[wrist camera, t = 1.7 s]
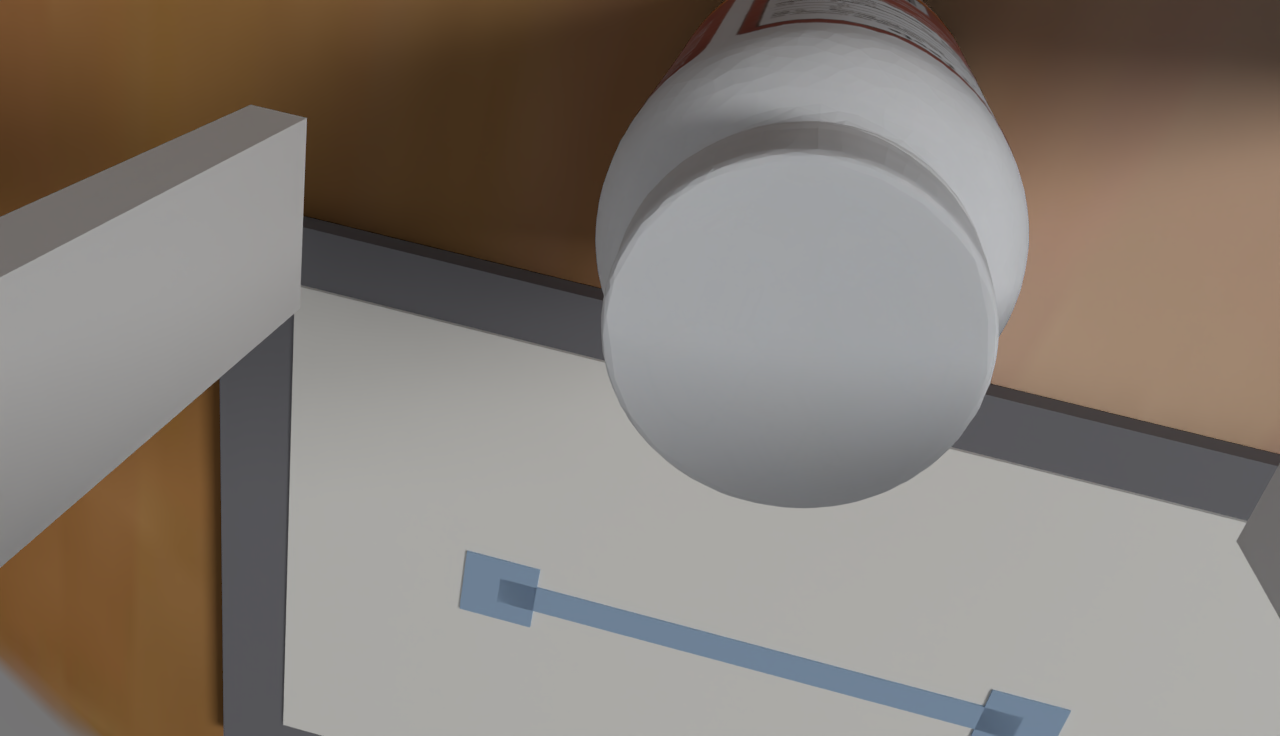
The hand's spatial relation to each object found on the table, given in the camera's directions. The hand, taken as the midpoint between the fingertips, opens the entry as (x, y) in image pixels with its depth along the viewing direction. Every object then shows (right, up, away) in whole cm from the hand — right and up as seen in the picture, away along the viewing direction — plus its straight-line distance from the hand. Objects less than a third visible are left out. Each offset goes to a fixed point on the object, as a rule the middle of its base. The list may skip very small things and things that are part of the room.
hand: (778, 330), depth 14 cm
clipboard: (+1, -8, +15) cm, 17 cm away
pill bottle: (+2, +5, +9) cm, 10 cm away
